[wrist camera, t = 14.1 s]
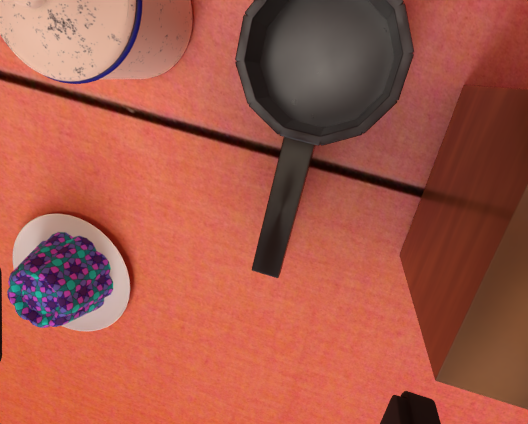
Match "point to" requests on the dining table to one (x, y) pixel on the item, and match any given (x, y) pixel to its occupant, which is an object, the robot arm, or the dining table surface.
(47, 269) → the pudding
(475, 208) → the wooden cube
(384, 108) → the pan
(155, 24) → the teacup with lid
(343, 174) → the dining table surface
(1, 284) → the robot arm
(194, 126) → the dining table surface
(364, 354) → the dining table surface
